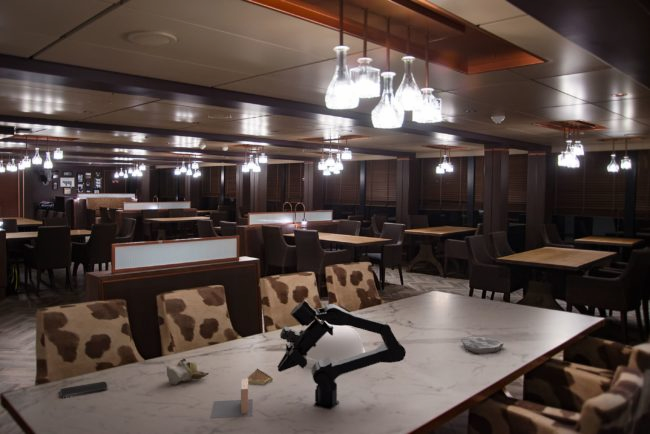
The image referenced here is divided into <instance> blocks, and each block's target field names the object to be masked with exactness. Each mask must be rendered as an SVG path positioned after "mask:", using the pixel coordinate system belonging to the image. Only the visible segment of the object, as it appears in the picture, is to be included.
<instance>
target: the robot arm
mask: <svg viewBox="0 0 650 434" xmlns="http://www.w3.org/2000/svg"><path fill="white" fill-rule="evenodd" d="M290 316H291V317H292V318H293V319H294V320H295V321H296V322H297V323H298V324H300V326H302V327H304V326H305V327H306V328H305V329H301V330H300V331H297V330H295V329H292V328H291V327H288V326H285V325H284V326H283V327H282V330H281V332H280V334H279V336H280V339H282V340H284V341H285V340H286V342H287V343H286V344H285V353H284V355H283V356H282V358H281V360H280V361H279V363H278V365H277V371H278V372H280V373H281V372H284V371H285V370H289V369H291V368H295V367H297V366H299V367H300V368H301V369H304V368H305V366H306V365H307V358H306V356H307V355H308V354H307V352H308V351H309V350H310V349H311V348H312V347H315V346H316V343H317V342H318V341H319V340H320V339H321V338H322V337H323V336H324V335H325V334H326V333H327V332H328V333H329V334H330V335H333V326H329V325H328V324H330V325H338V326H348V327H351V328H356V329H361V330H364V331H366V332H369V333H370V332H371V333H374V334H379V335H380V337H381V339H382V341H383V343H381V344H380V345H379V346H377V347H376V348H375V349H372V350H369V351H365V353H362V354H359V355H355V356H352V357H349V358H346V359H343V360H339V361H331V360H330V358H329V357H328V358H326V359H324V360H318V362H317V363H315V364H314V365H313V367H312V368H311V375H312V380H313V381H314V383H315V384H316V385H315V386H316V387H315V390H314V391H315V392H314V403H313V406H315V407H318V408H319V407H320V408H324V409H328V410H331V409H333V408H334V407H335V406H337V405H338V404H339V403H340V401H339V400H338V390H337V389H338V384H337V382H336V380H337V378H338V377H339V376H342V375H345V374H348V373H351V372H354V371H357V370H360V369H363V368H366V367H369V366H373V365H377V364H379V363H391V364H392V363H398V362H399V363H400V362H401V361H403V360H404V359H405V357H406V354H407V353H406V348H405V347H404V346H403V345H402V344H401V343H400V341H399V340H398V339H397V338H396V336H395V335H394V333H393V331H392V329H391V326H390V325H389V324H388V323H387V322H385V321H380V320H376V319H374V318H369V317H366V316H363V315H359V314H355V313H351V312H349V311H347V310H346V309H345V308H342V307H340V306H338V305H336V304H333V303H329V304H326V305H325V307H321V308H313V307H312V306H311V305H310V304H309V302H308V301H307V300H305V299H304V300H303V301H302V302H300V303H299V304H297V305H296V306H294V307H293V308H292V310H291V312H290ZM288 343H289V344H288Z"/></svg>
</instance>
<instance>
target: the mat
mask: <svg viewBox="0 0 650 434" xmlns="http://www.w3.org/2000/svg"><path fill="white" fill-rule="evenodd" d="M253 402H254V400H253V399H252V398H251V399H250V398H248V413H245V414H242V413H241V399H231V400H230V399H229V400H214V401H213V404H212V409H211V413H210V414H211V415H210V419H223V418H241V417H242V418H243V417H244V418H245V417H253V407H254V406H253Z"/></svg>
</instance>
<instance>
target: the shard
mask: <svg viewBox="0 0 650 434" xmlns="http://www.w3.org/2000/svg"><path fill="white" fill-rule="evenodd" d="M246 379H248V385H262V386H264V385H266V384H268V383H272V382H273V379H274V378H272V376H270V375H268V374H267V373H266V372H264V371H262V370H260V369H259V368H256V369H255V371H254V372H252V373H251V374H250V375H249V376H247V378H246Z"/></svg>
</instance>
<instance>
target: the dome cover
mask: <svg viewBox="0 0 650 434" xmlns="http://www.w3.org/2000/svg"><path fill="white" fill-rule="evenodd" d="M327 324H328V323H327ZM328 325H329V326H333V335H330V334H329V333H328V332H327V333H326V334H325V335H324V336H323V337H322V338H321V339H320V340H319V341H318V342H317V343H316V346H315V347H312V348H311V349H310V350H309V351H308V352H307V354H308V355H307V356H306V358H307V365H306V366H305V367H306V368H308V369H312V367H313V365H314V364H315V363H317V362H318V360H324V359H326V358H328V357H329V358H330V360H331V361H339V360H343V359H346V358H349V357H352V356H355V355H359V354H362V353H365V352H366V349H365V348H364V346H363V341H362V338H361V336H360V334H359V333H358V331H357V330H356V329H354V327H352V326H347V325H345V326H338V325H330V324H328ZM305 367H304V368H305Z"/></svg>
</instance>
